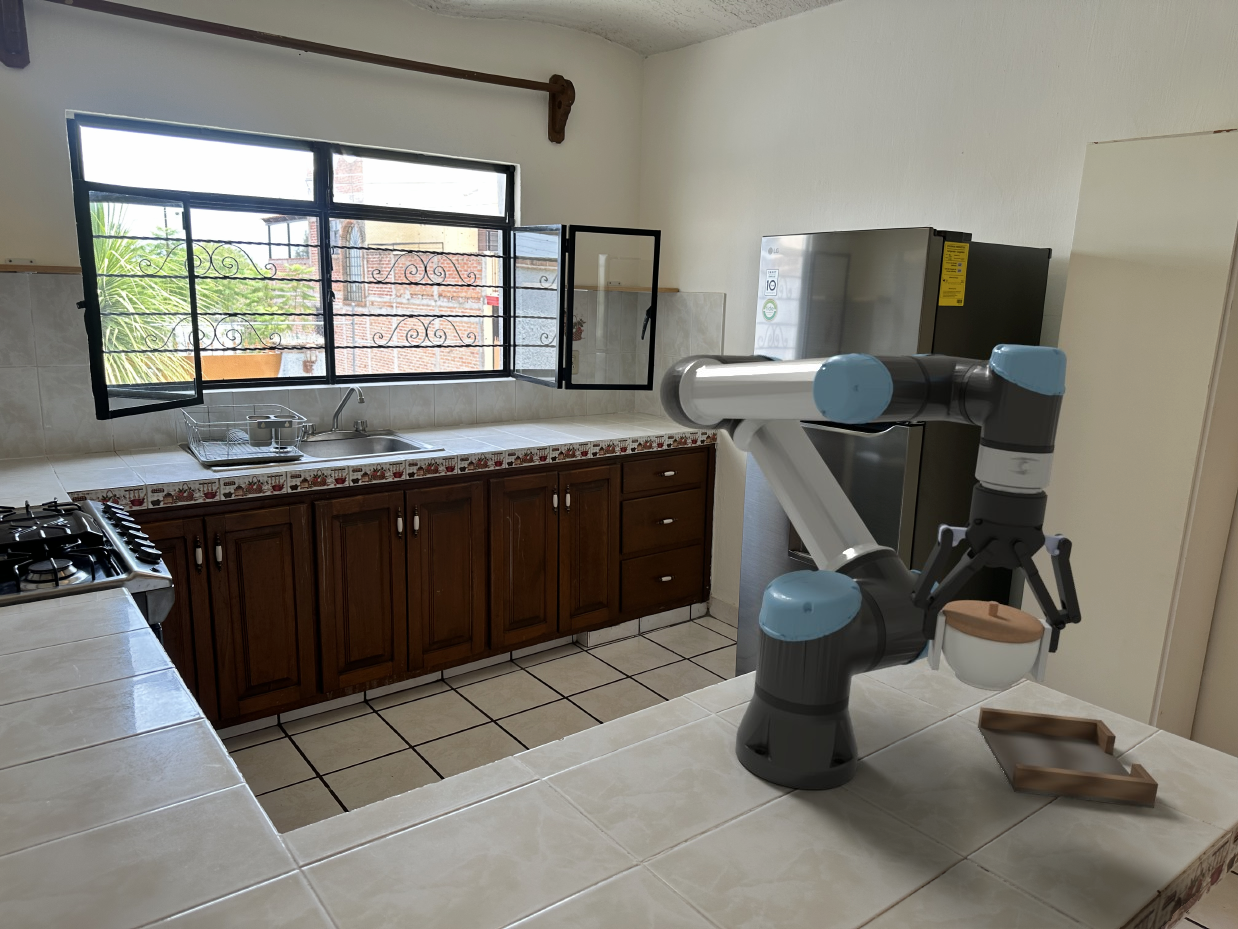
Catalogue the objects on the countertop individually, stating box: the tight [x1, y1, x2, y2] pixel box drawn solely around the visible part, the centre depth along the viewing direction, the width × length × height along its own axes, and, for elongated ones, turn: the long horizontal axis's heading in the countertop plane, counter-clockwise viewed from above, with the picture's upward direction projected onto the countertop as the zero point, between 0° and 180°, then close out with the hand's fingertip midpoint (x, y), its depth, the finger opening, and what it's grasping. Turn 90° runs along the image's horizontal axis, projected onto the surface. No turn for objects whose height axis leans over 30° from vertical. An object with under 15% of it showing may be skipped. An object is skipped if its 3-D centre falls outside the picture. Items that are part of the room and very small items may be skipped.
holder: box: [977, 706, 1159, 809], centre depth 108 cm, size 16×16×3 cm
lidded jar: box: [941, 599, 1044, 692], centre depth 97 cm, size 11×11×9 cm
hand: (983, 671), depth 98 cm, fingers closed on lidded jar, 11 cm apart
